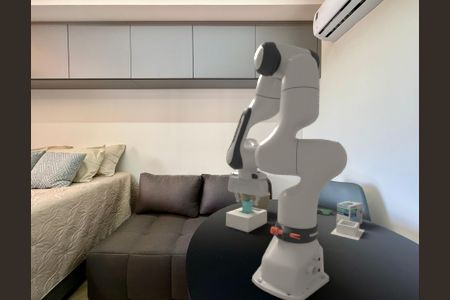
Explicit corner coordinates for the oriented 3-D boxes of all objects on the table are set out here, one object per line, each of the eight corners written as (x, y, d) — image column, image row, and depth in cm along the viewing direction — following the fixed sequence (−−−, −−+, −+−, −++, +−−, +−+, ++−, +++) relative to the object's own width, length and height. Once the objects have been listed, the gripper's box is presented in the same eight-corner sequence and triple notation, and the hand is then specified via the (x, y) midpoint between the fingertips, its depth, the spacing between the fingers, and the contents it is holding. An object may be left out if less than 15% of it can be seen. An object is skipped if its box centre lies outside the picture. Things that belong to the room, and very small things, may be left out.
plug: (247, 221, 106) (247, 196, 105) (242, 220, 108) (242, 195, 107) (252, 219, 109) (252, 195, 108) (246, 218, 111) (247, 194, 110)
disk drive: (299, 215, 126) (328, 219, 118) (299, 209, 126) (329, 214, 118) (304, 210, 135) (332, 214, 127) (304, 205, 135) (332, 209, 127)
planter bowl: (249, 207, 138) (249, 189, 137) (274, 212, 128) (274, 192, 128) (234, 213, 125) (234, 193, 124) (261, 219, 115) (261, 197, 115)
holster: (358, 244, 88) (358, 231, 88) (330, 237, 94) (330, 224, 94) (364, 233, 99) (364, 221, 99) (338, 227, 105) (339, 216, 105)
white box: (247, 232, 98) (248, 217, 98) (226, 225, 106) (226, 212, 106) (266, 222, 110) (266, 209, 110) (245, 217, 118) (246, 205, 118)
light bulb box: (350, 230, 102) (350, 206, 102) (335, 225, 108) (336, 202, 107) (362, 226, 108) (363, 203, 108) (348, 222, 114) (349, 200, 113)
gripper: (225, 172, 111) (225, 201, 111) (263, 176, 99) (262, 208, 99) (233, 171, 116) (232, 199, 116) (270, 175, 103) (269, 206, 103)
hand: (246, 203), depth 107 cm, fingers open, 8 cm apart
